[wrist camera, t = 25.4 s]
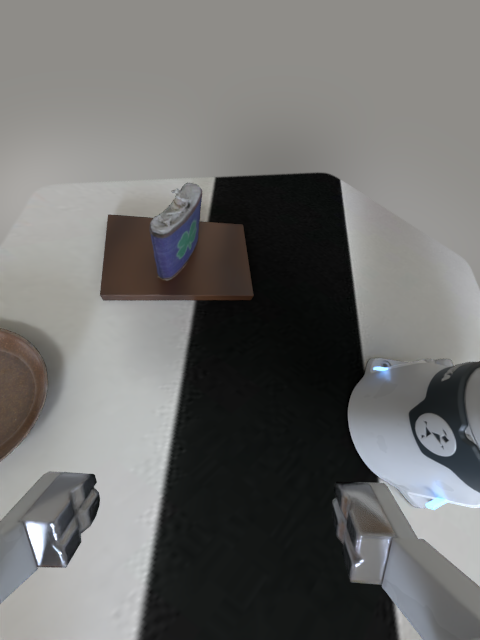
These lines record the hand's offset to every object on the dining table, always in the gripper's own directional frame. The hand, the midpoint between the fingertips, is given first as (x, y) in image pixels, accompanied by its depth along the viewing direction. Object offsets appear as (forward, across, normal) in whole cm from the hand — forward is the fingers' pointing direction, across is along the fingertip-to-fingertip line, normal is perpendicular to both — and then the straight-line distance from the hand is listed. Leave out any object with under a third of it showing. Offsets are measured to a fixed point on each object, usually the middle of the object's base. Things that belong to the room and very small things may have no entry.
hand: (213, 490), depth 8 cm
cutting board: (+31, +9, -6) cm, 33 cm away
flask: (+30, +9, -7) cm, 32 cm away
